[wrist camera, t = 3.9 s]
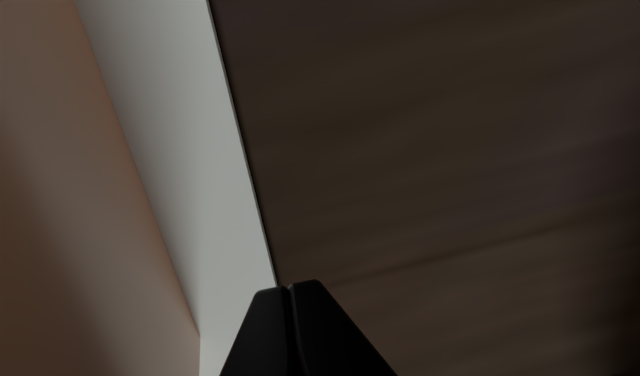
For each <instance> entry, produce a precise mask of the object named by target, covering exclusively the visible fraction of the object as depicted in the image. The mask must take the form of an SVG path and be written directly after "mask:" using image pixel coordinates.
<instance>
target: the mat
mask: <svg viewBox="0 0 640 376" xmlns="http://www.w3.org/2000/svg"><path fill="white" fill-rule="evenodd" d="M74 2H75V5H76V7H77V10H78V13H79V15H80V18H81V21H82V23H83V26H84V29H85V31H86V34H87V37H88V39H89V42H90V45H91V47H92V50H93V53H94V55H95V58H96V61H97V63H98V66H99V69H100V71H101V74H102V77H103V79H104V82H105V85H106V87H107V90H108V93H109V95H110V98H111V101H112V103H113V106H114V109H115V111H116V114H117V117H118V119H119V122H120V125H121V127H122V130H123V133H124V135H125V138H126V141H127V143H128V146H129V149H130V151H131V154H132V157H133V159H134V162H135V165H136V167H137V170H138V173H139V175H140V178H141V181H142V183H143V186H144V189H145V191H146V194H147V197H148V199H149V202H150V205H151V207H152V210H153V213H154V215H155V218H156V221H157V223H158V226H159V229H160V231H161V234H162V237H163V240H164V242H165V245H166V248H167V250H168V253H169V256H170V258H171V261H172V264H173V266H174V269H175V272H176V274H177V277H178V280H179V282H180V285H181V288H182V290H183V293H184V296H185V298H186V301H187V304H188V306H189V309H190V312H191V314H192V317H193V320H194V322H195V325H196V328H197V330H198V333H199V336H200V369H199V376H219V375H220V372H221V370H222V368H223V366H224V363H225V361H226V359H227V356H228V354H229V352H230V349H231V347H232V345H233V343H234V340H235V338H236V336H237V333H238V331H239V329H240V326H241V324H242V322H243V320H244V317H245V315H246V313H247V310H248V308H249V306H250V303H251V301H252V299H253V297H254V295H255V293H256V292H257V291H259V290H262V289H267V288H272V287H277V286H278V285H277V281H276V277H275V273H274V269H273V264H272V260H271V256H270V252H269V248H268V244H267V240H266V236H265V232H264V227H263V223H262V219H261V215H260V211H259V207H258V203H257V199H256V195H255V190H254V186H253V182H252V178H251V174H250V170H249V166H248V162H247V157H246V153H245V149H244V145H243V141H242V137H241V133H240V129H239V125H238V120H237V116H236V112H235V108H234V104H233V100H232V96H231V92H230V88H229V83H228V79H227V75H226V71H225V67H224V63H223V59H222V55H221V51H220V46H219V42H218V38H217V34H216V30H215V26H214V22H213V18H212V14H211V9H210V5H209V1H208V0H74Z"/></svg>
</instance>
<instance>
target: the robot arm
mask: <svg viewBox="0 0 640 376" xmlns="http://www.w3.org/2000/svg"><path fill="white" fill-rule="evenodd" d="M219 376H398V375H397V374H396V373H395V372H394V371H393V369H392V368H391V367H390V366H389V364H388V363H387V362H386V361H385V360H384V358H383V357H382V356H381V355H380V354H379V352H378V351H377V350H376V349H375V347H374V346H373V345H372V344H371V343H370V341H369V340H368V339H367V338H366V337H365V335H364V334H363V333H362V332H361V330H360V329H359V328H358V327H357V326H356V324H355V323H354V322H353V321H352V320H351V318H350V317H349V316H348V315H347V314H346V312H345V311H344V310H343V309H342V307H341V306H340V305H339V304H338V303H337V301H336V300H335V299H334V298H333V297H332V295H331V294H330V293H329V292H328V290H327V289H326V288H325V287H324V286H323V284H322V283H321V282H320V281H318V280H316V279H313V280H308V281H303V282H298V283H293V284H291V285H290V286H289V288H288V289H287V288H286V287H285V286H277V287H272V288H267V289H262V290H259V291H257V292H256V293H255V295H254V297H253V299H252V301H251V303H250V306H249V308H248V310H247V313H246V315H245V317H244V320H243V322H242V324H241V326H240V329H239V331H238V333H237V336H236V338H235V340H234V343H233V345H232V347H231V349H230V352H229V354H228V356H227V359H226V361H225V363H224V366H223V368H222V370H221V372H220V375H219Z"/></svg>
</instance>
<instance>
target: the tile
mask: <svg viewBox="0 0 640 376" xmlns="http://www.w3.org/2000/svg"><path fill="white" fill-rule="evenodd" d="M199 369H200V336H199V333H198V330H197V328H196V325H195V322H194V320H193V317H192V314H191V312H190V309H189V306H188V304H187V301H186V298H185V296H184V293H183V290H182V288H181V285H180V282H179V280H178V277H177V274H176V272H175V269H174V266H173V264H172V261H171V258H170V256H169V253H168V250H167V248H166V245H165V242H164V240H163V237H162V234H161V231H160V229H159V226H158V223H157V221H156V218H155V215H154V213H153V210H152V207H151V205H150V202H149V199H148V197H147V194H146V191H145V189H144V186H143V183H142V181H141V178H140V175H139V173H138V170H137V167H136V165H135V162H134V159H133V157H132V154H131V151H130V149H129V146H128V143H127V141H126V138H125V135H124V133H123V130H122V127H121V125H120V122H119V119H118V117H117V114H116V111H115V109H114V106H113V103H112V101H111V98H110V95H109V93H108V90H107V87H106V85H105V82H104V79H103V77H102V74H101V71H100V69H99V66H98V63H97V61H96V58H95V55H94V53H93V50H92V47H91V45H90V42H89V39H88V37H87V34H86V31H85V29H84V26H83V23H82V21H81V18H80V15H79V13H78V10H77V7H76V5H75V2H74V0H0V376H199Z"/></svg>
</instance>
